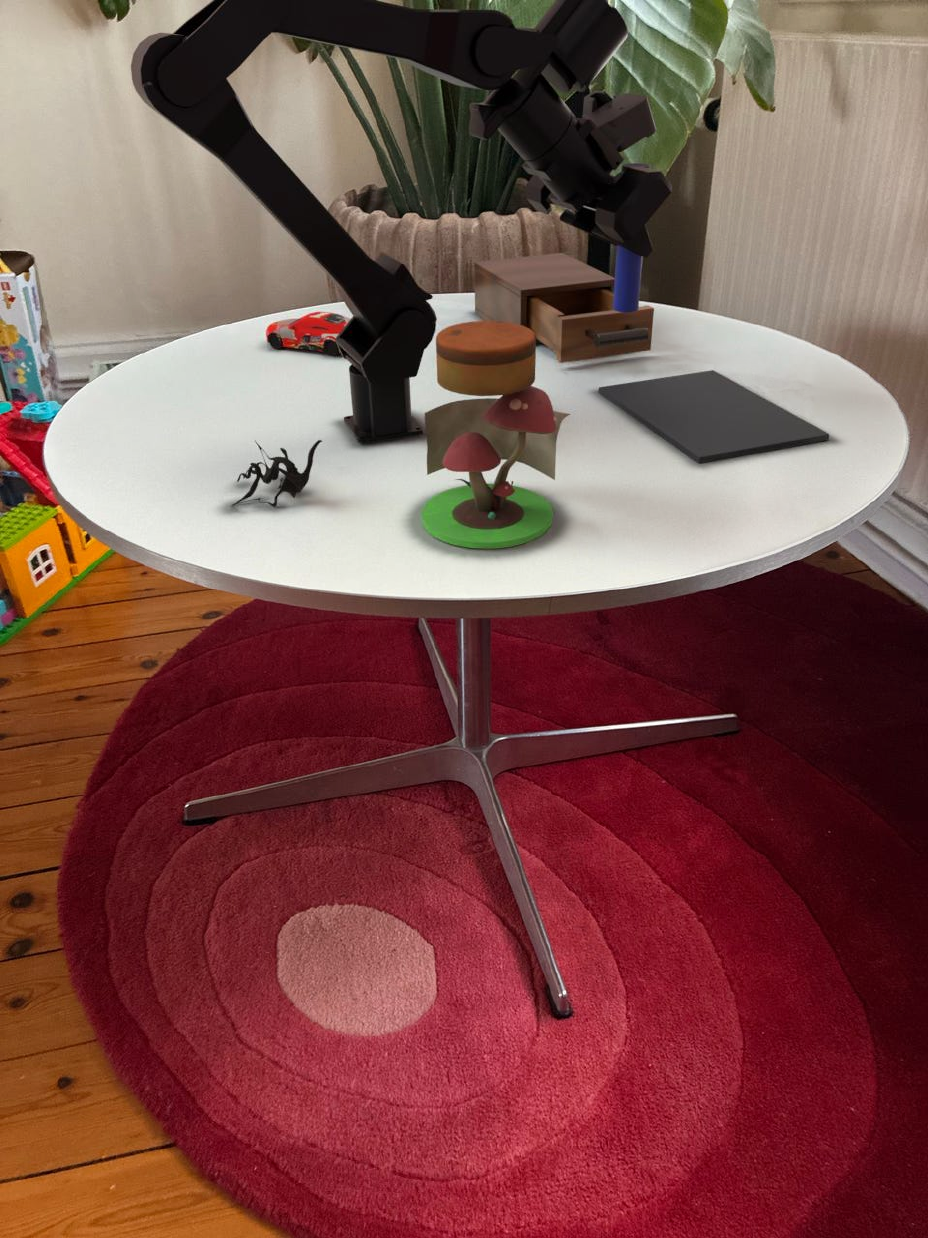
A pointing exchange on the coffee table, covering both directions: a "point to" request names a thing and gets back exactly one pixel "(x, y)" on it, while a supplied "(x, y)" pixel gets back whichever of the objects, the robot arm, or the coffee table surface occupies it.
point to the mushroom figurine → (489, 436)
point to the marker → (627, 272)
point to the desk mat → (711, 416)
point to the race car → (308, 332)
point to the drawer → (588, 324)
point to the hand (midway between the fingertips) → (641, 250)
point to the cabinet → (529, 283)
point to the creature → (292, 477)
